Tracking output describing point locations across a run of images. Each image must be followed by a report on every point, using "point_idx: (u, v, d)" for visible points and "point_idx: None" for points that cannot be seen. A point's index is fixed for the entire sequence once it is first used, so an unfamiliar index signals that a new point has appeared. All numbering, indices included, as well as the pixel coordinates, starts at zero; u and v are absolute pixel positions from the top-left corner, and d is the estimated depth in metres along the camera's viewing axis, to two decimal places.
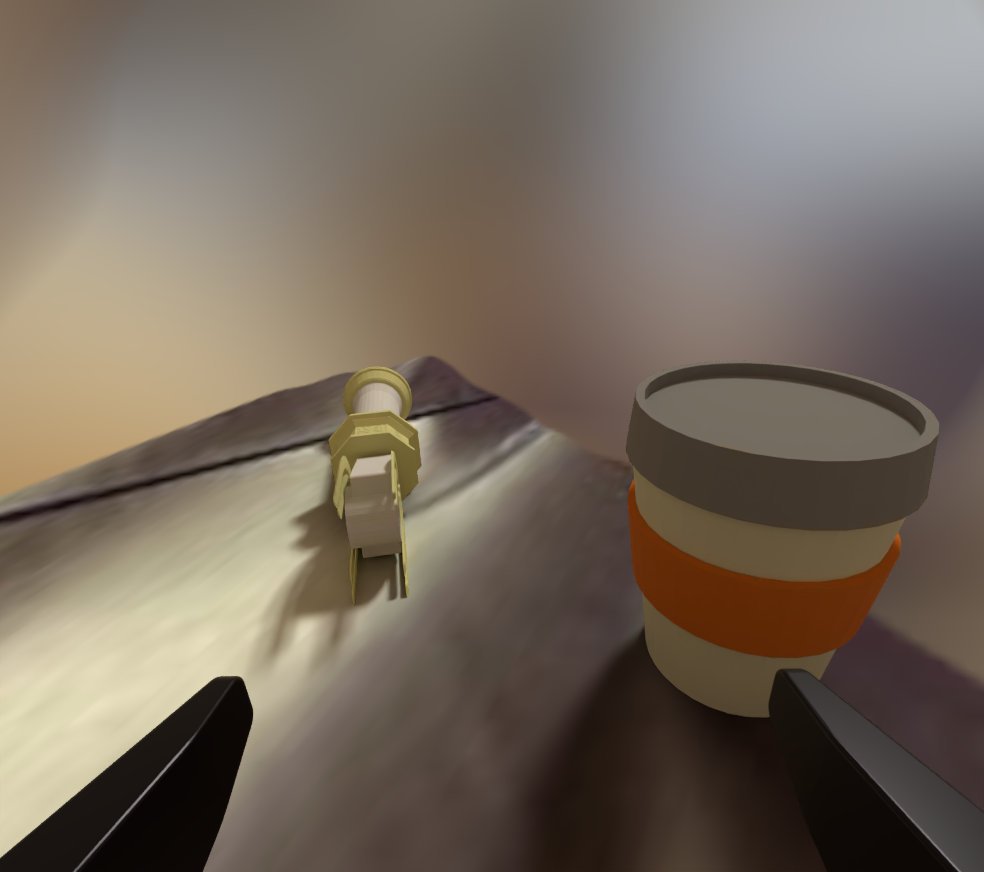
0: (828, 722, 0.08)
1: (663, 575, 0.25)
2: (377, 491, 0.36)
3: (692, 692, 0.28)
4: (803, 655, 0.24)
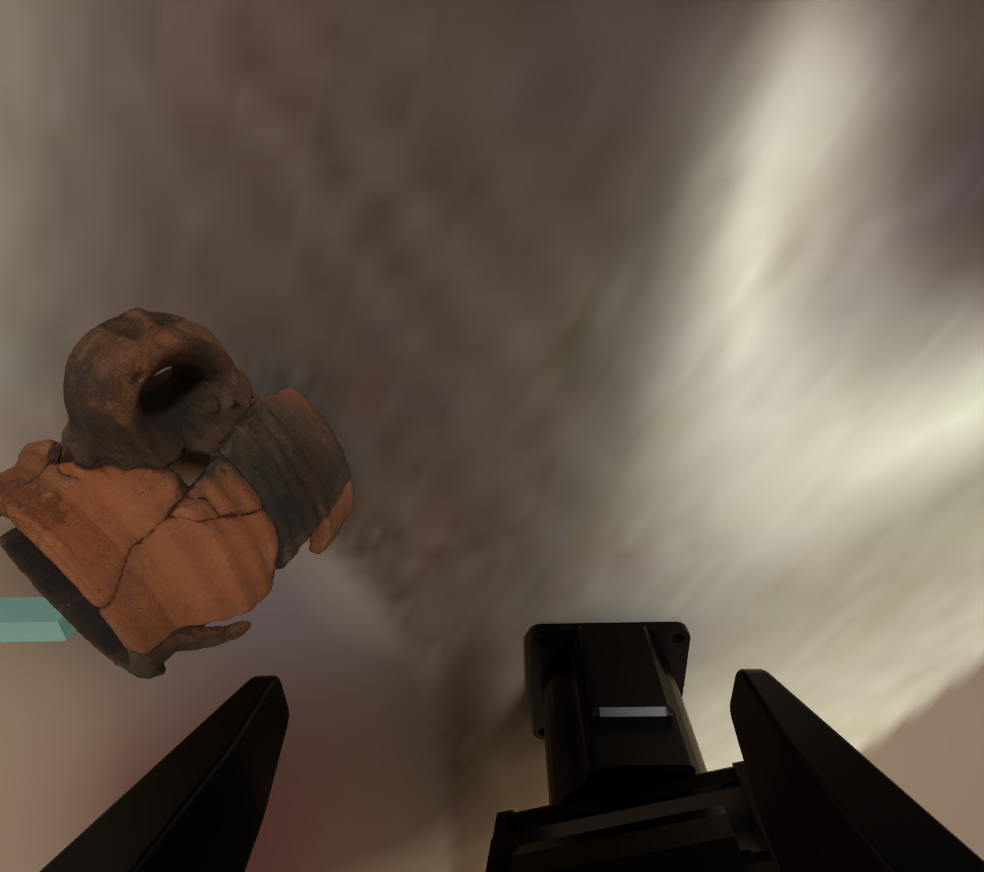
0: (782, 723, 0.08)
1: None
2: None
3: None
4: None
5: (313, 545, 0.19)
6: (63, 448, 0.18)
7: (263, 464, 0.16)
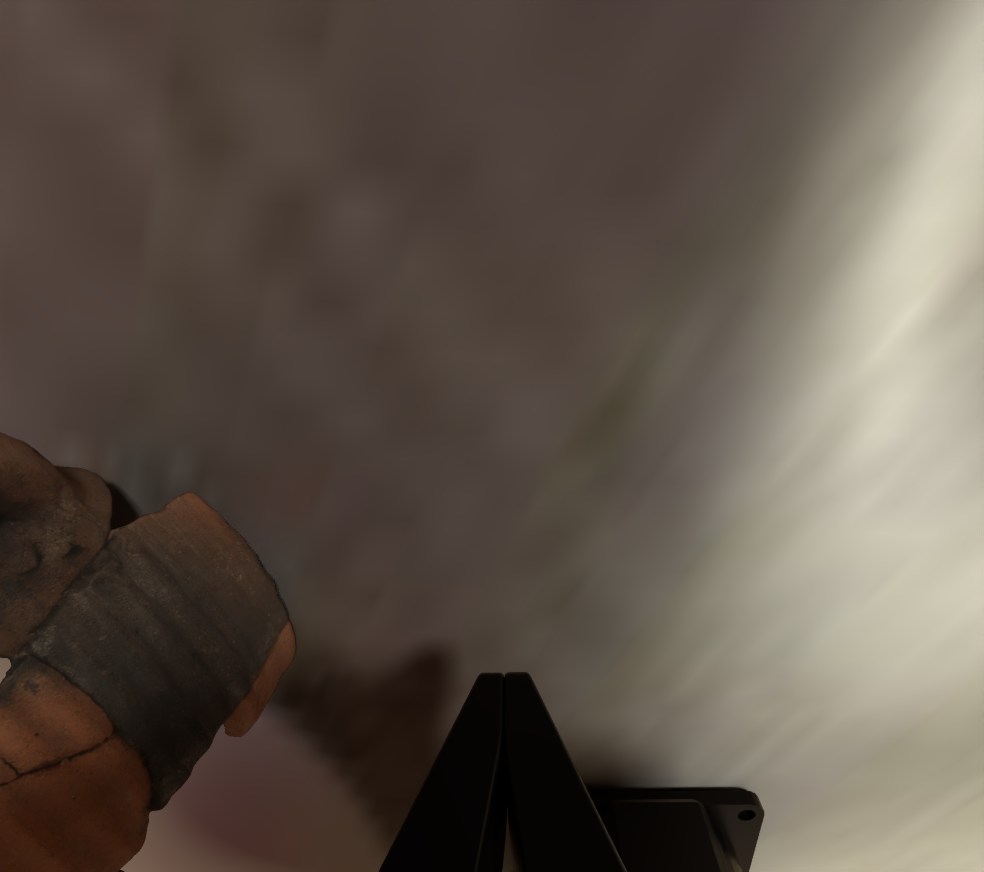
0: (512, 725, 0.08)
1: None
2: None
3: None
4: None
5: (229, 730, 0.13)
6: None
7: (119, 652, 0.10)
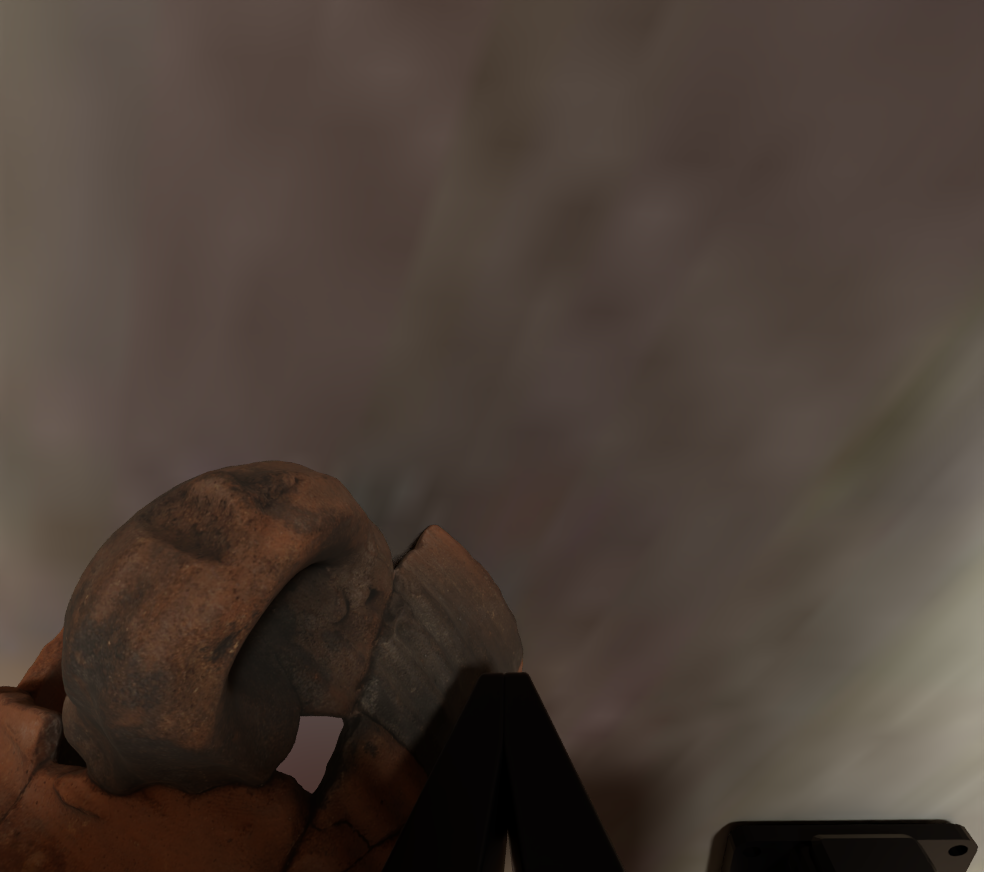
0: (511, 725, 0.08)
1: None
2: None
3: None
4: None
5: None
6: None
7: (427, 703, 0.09)
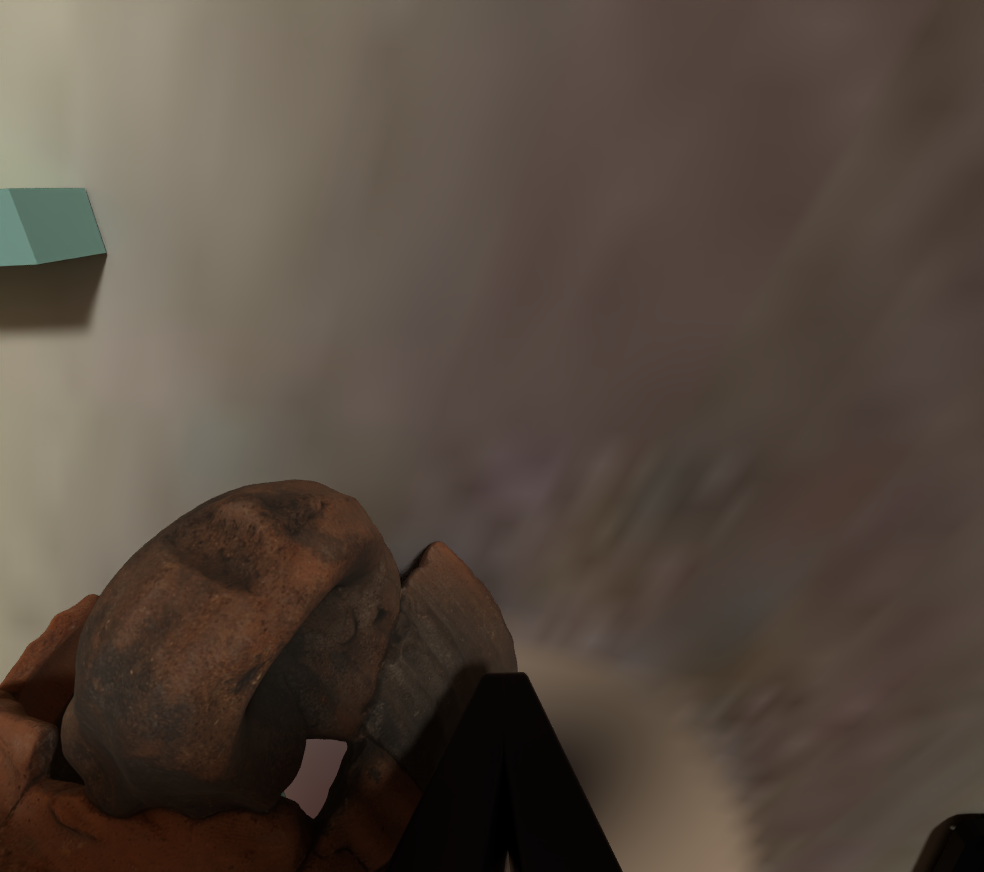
0: (509, 725, 0.08)
1: None
2: None
3: None
4: None
5: None
6: (53, 638, 0.11)
7: (429, 728, 0.09)
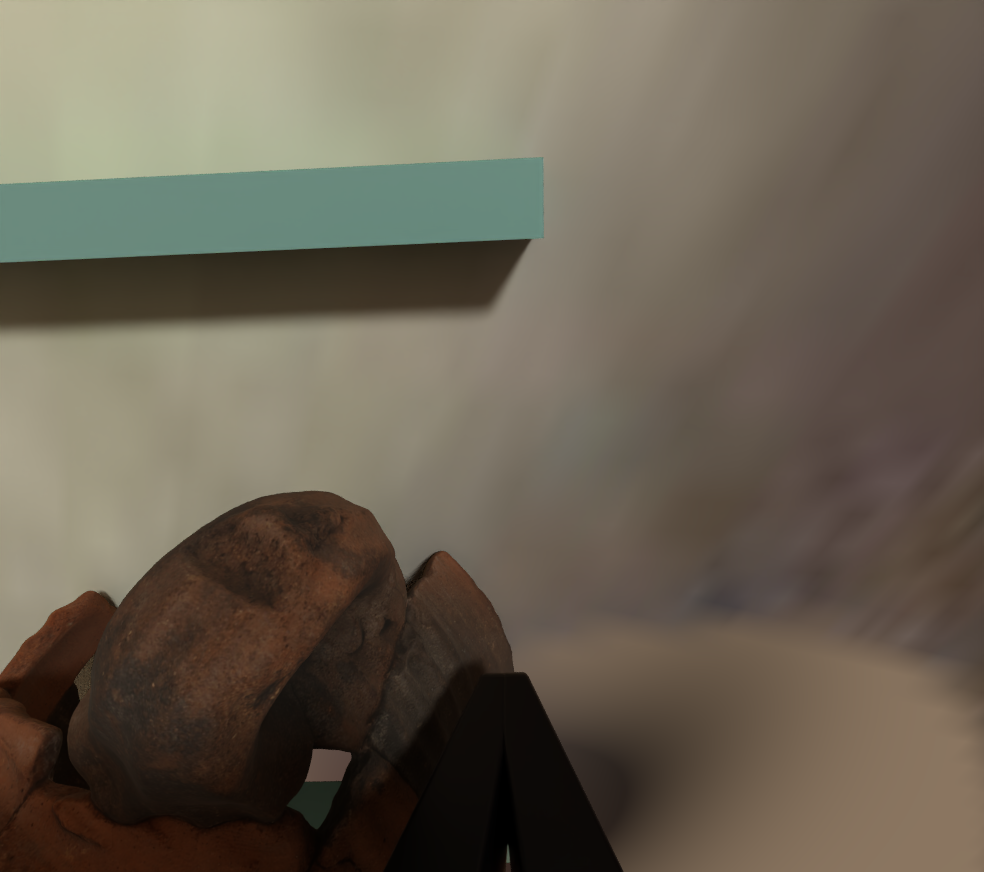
0: (510, 725, 0.08)
1: None
2: None
3: None
4: None
5: None
6: (50, 634, 0.11)
7: (431, 739, 0.09)
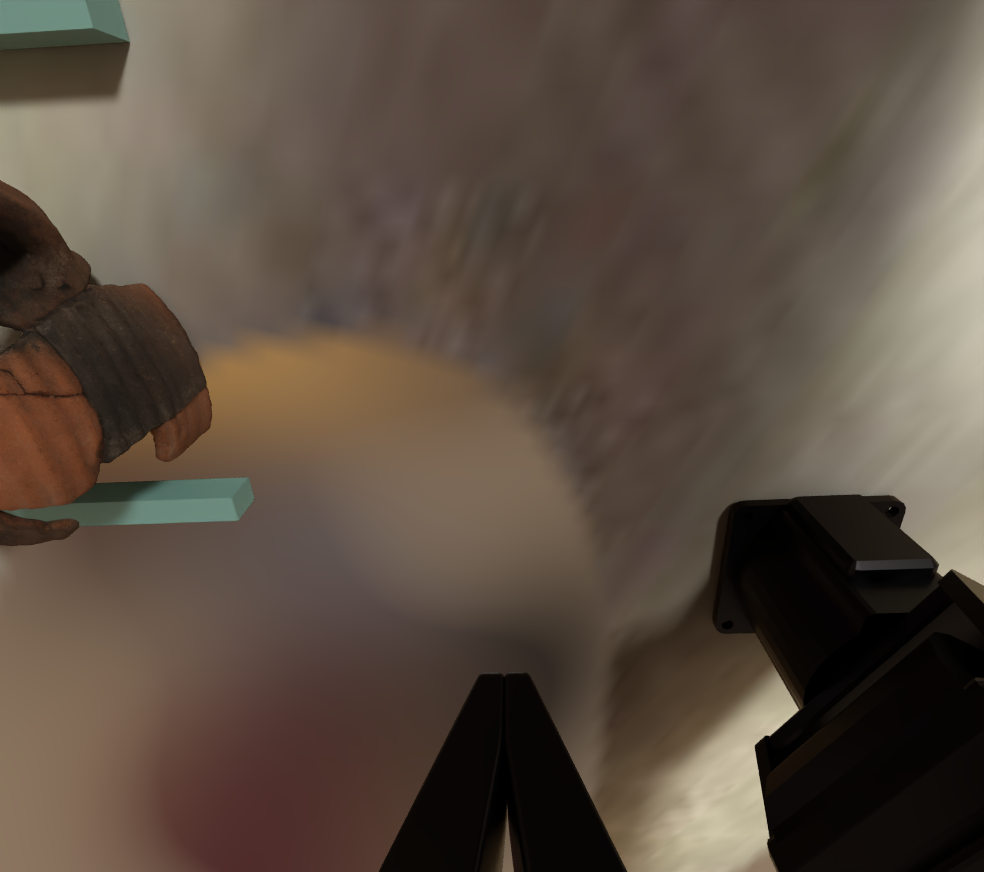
0: (512, 725, 0.08)
1: None
2: None
3: None
4: None
5: (158, 451, 0.18)
6: None
7: (89, 349, 0.15)
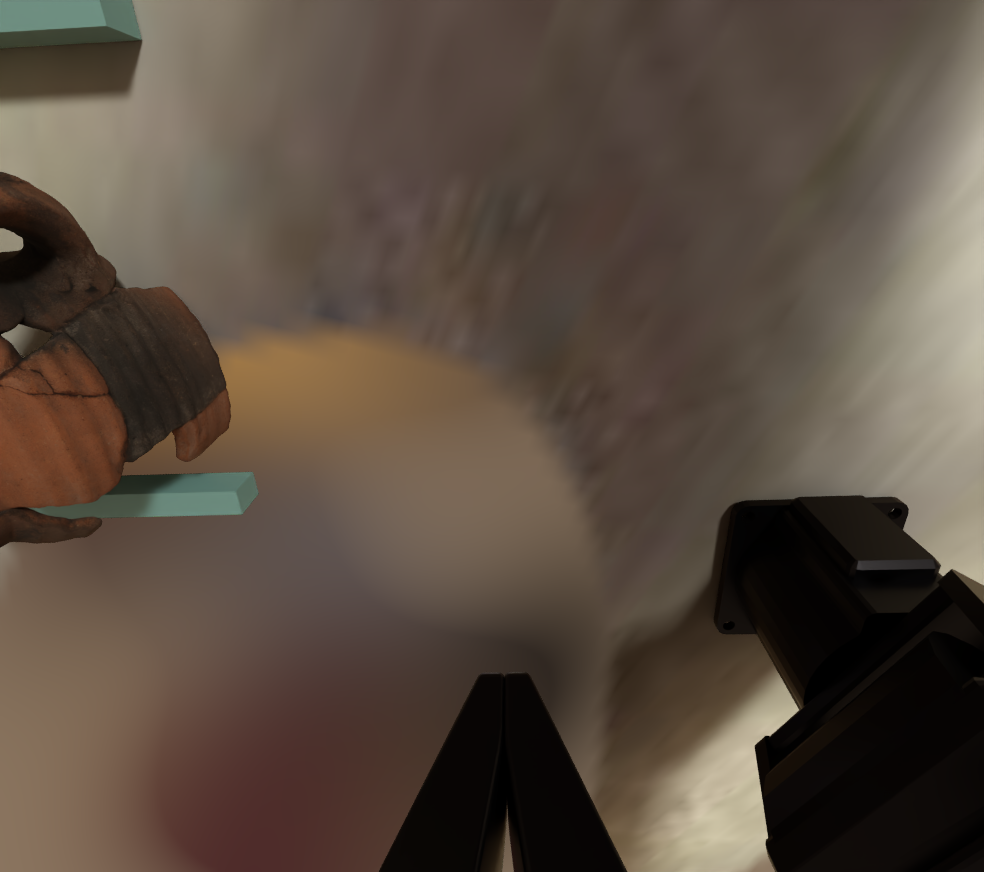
0: (512, 725, 0.08)
1: None
2: None
3: None
4: None
5: (179, 451, 0.19)
6: None
7: (115, 351, 0.16)
